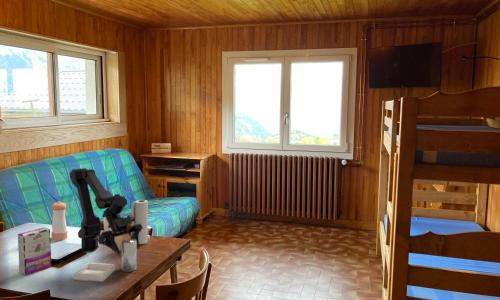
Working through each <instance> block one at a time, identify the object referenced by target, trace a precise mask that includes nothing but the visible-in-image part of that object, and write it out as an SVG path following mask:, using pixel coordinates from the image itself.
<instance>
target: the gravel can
mask: <svg viewBox="0 0 500 300" xmlns="http://www.w3.org/2000/svg"><path fill="white" fill-rule="evenodd" d="M137 251H138V248H137V241H136V240H135V239H131V238H126V239H123V240H121V271H122V272H125V273H126V272H127V273H128V272H133V271H136V270H137V254H138V253H137Z"/></svg>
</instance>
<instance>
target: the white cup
mask: <svg viewBox="0 0 500 300" xmlns="http://www.w3.org/2000/svg"><path fill="white" fill-rule="evenodd" d="M102 218H103V230H104V231H103V232H105V231H112V230H111V228H108V225H109V224H108V222H107V219H106V217H102ZM112 233H113V232H112Z"/></svg>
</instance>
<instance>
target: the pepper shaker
mask: <svg viewBox="0 0 500 300" xmlns="http://www.w3.org/2000/svg"><path fill="white" fill-rule="evenodd" d="M50 209H51V210H52V223H51V231H50V240H51V241H63V240H66V239H68V230H67V221H66V209H67V204H66V203H65V202H61V201H56V202H54V203H52V205H51V206H50Z"/></svg>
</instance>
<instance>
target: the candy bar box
mask: <svg viewBox="0 0 500 300" xmlns="http://www.w3.org/2000/svg"><path fill="white" fill-rule="evenodd" d="M51 241H52V239H51V228H48V227H45V226H44V227H39V228H35V229H32V230H28V231H24V232H21V233H17V247H18V248H17V249H18V267H19V270H18V271H19V273H20V274H21V275H24V276H27V275H31V274H33V273H36V272H37V273H38V272H40V271H43V270H45V269H48V268H50V267H52V248H51V247H52V246H51V243H52V242H51Z"/></svg>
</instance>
